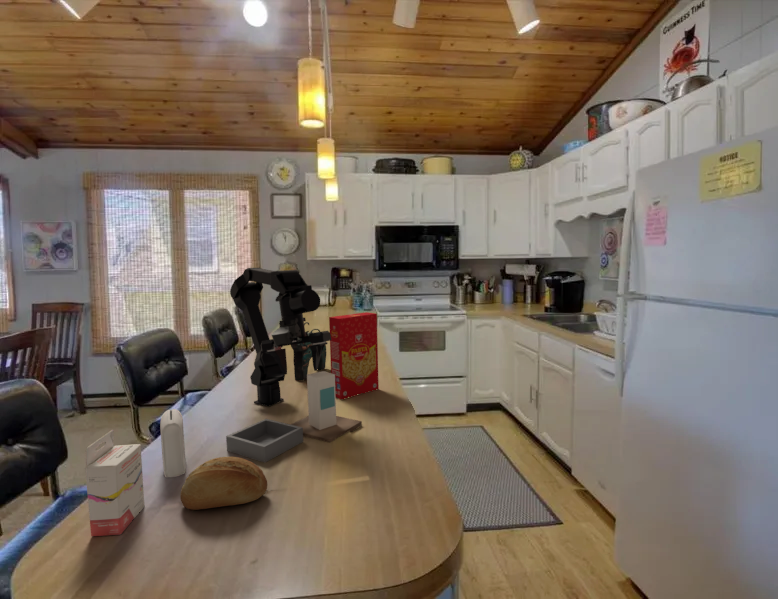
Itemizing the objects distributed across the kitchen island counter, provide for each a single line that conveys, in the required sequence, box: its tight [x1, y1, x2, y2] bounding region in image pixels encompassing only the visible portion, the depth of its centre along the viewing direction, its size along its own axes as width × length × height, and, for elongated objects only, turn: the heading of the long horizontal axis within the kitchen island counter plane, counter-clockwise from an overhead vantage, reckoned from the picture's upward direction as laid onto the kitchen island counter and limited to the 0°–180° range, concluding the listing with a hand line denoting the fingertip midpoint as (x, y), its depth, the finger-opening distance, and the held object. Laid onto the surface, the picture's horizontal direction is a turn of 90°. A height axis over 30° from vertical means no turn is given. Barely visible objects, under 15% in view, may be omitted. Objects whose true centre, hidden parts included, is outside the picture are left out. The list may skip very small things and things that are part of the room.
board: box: [289, 415, 363, 443], centre depth 113 cm, size 15×13×1 cm
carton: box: [306, 370, 337, 430], centre depth 112 cm, size 5×5×13 cm
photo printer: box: [159, 408, 187, 478], centre depth 93 cm, size 10×4×12 cm, turn 26°
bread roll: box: [179, 456, 268, 511], centre depth 80 cm, size 10×15×8 cm, turn 102°
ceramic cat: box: [290, 321, 327, 381], centre depth 165 cm, size 20×6×20 cm, turn 160°
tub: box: [225, 418, 304, 463], centre depth 102 cm, size 12×12×4 cm
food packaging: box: [328, 311, 380, 400], centre depth 141 cm, size 15×5×25 cm, turn 131°
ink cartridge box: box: [84, 429, 145, 537], centre depth 75 cm, size 9×5×15 cm, turn 5°
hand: (300, 372), depth 121 cm, fingers open, 9 cm apart
